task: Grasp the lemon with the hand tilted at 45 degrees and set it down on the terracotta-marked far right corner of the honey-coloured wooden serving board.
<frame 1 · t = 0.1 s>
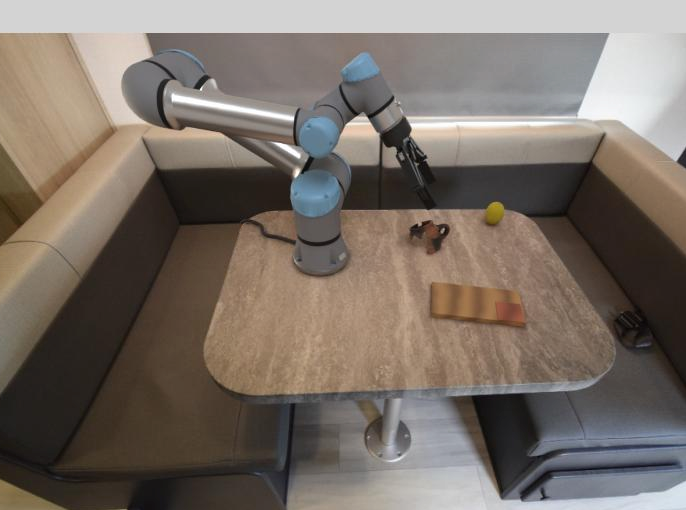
hand: (432, 194, 95), 15 cm above the table, tool tilted 35°, fingers open, 13 cm apart
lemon: (490, 224, 113), on the table
board: (475, 305, 88), on the table
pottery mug: (428, 243, 105), on the table
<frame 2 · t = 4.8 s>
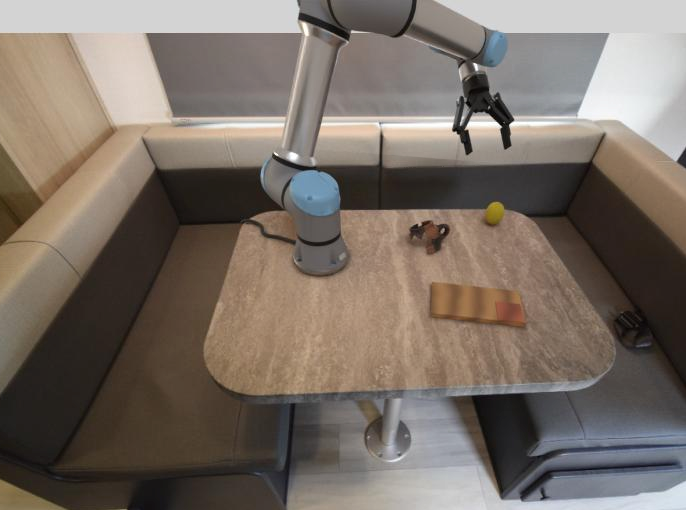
hand: (488, 150, 106), 19 cm above the table, tool tilted 45°, fingers open, 13 cm apart
nothing on the table moved.
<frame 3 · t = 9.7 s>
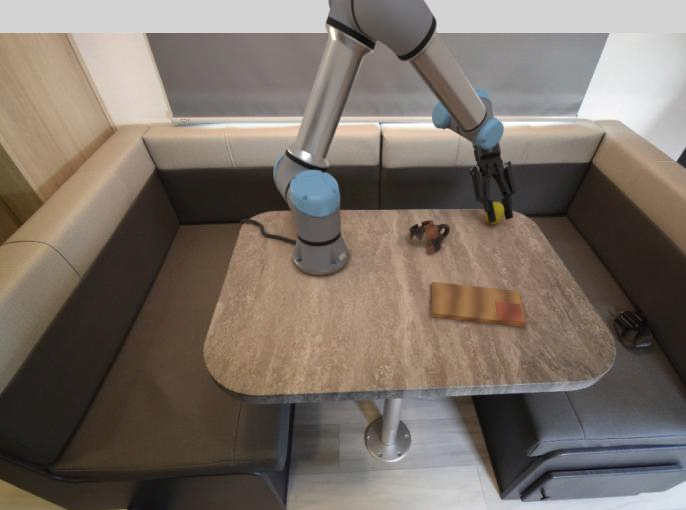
hand: (501, 220, 108), 4 cm above the table, tool tilted 45°, fingers closed on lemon, 5 cm apart
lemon: (490, 224, 113), on the table, touching gripper
everything else where it was.
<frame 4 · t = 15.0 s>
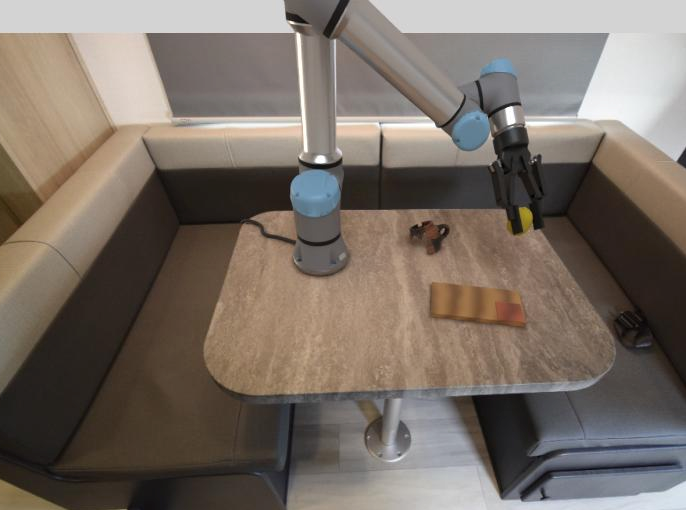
hand: (528, 231, 83), 16 cm above the table, tool tilted 45°, fingers closed on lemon, 5 cm apart
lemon: (513, 236, 88), point 12 cm above the table, touching gripper
everything else where it was.
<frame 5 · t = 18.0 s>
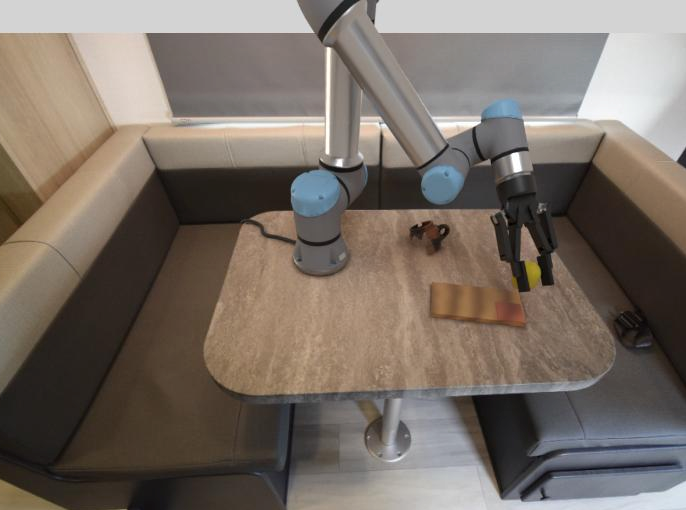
hand: (536, 288, 74), 13 cm above the table, tool tilted 45°, fingers closed on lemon, 5 cm apart
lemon: (519, 290, 79), point 9 cm above the table, touching gripper
everything else where it was.
when the fingers open (6 cm above the table, at t = 20.3 s): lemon stays where it is, resting on board.
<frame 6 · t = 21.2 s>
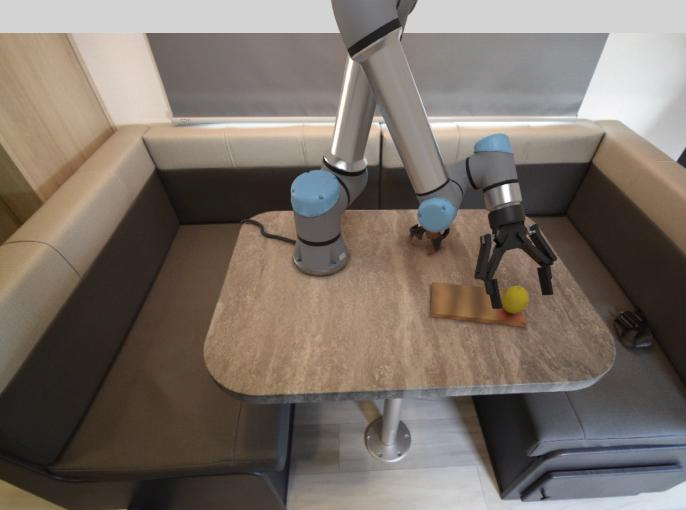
hand: (523, 301, 79), 7 cm above the table, tool tilted 45°, fingers open, 13 cm apart
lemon: (509, 312, 84), point 2 cm above the table, touching board
everything else where it was.
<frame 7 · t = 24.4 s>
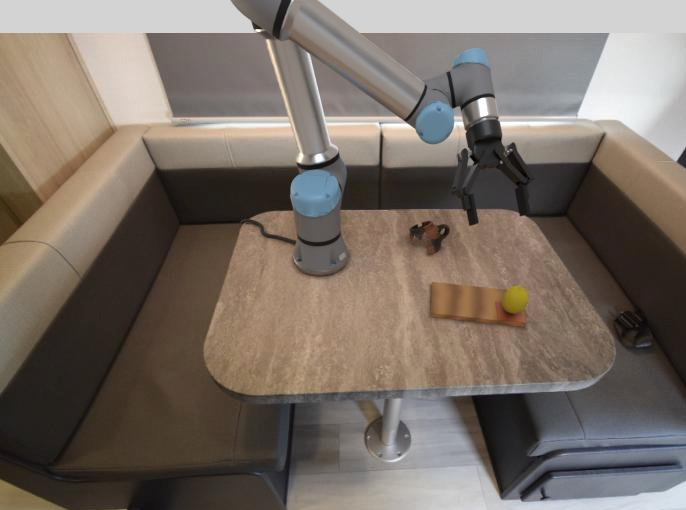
hand: (500, 219, 79), 20 cm above the table, tool tilted 45°, fingers open, 13 cm apart
nothing on the table moved.
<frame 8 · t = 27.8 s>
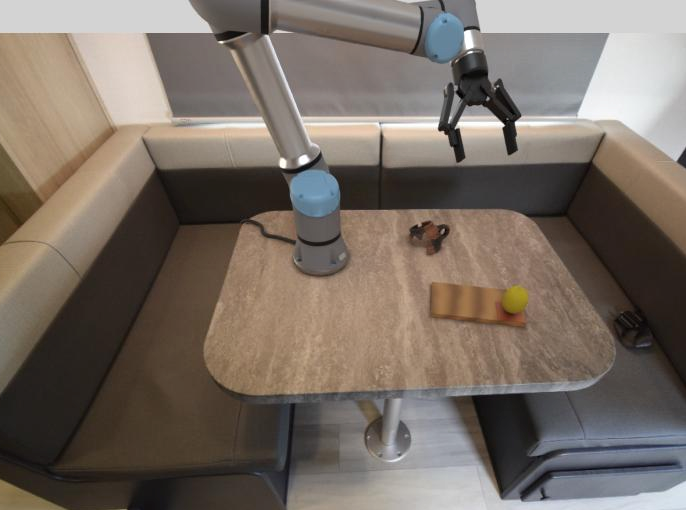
hand: (487, 156, 79), 30 cm above the table, tool tilted 45°, fingers open, 13 cm apart
nothing on the table moved.
at the end: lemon inside the target area on the board (0.0 cm from its centre), point 1.5 cm above the board's base; the gripper is holding nothing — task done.
